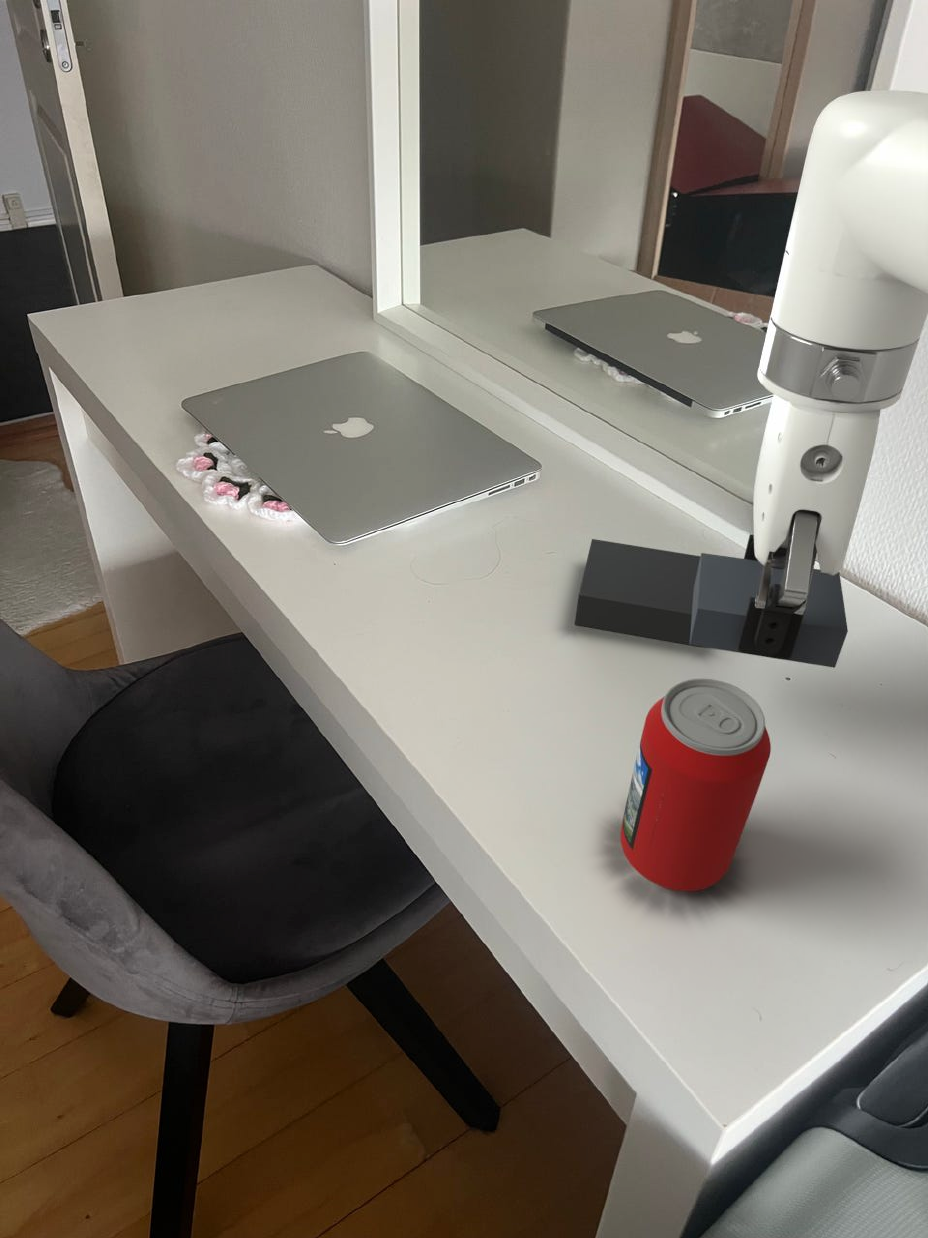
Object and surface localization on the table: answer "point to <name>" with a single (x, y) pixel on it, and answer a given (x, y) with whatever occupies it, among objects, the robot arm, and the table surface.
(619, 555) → the pad base
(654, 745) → the beverage can
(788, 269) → the robot arm
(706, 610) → the pad top
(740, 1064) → the table surface
